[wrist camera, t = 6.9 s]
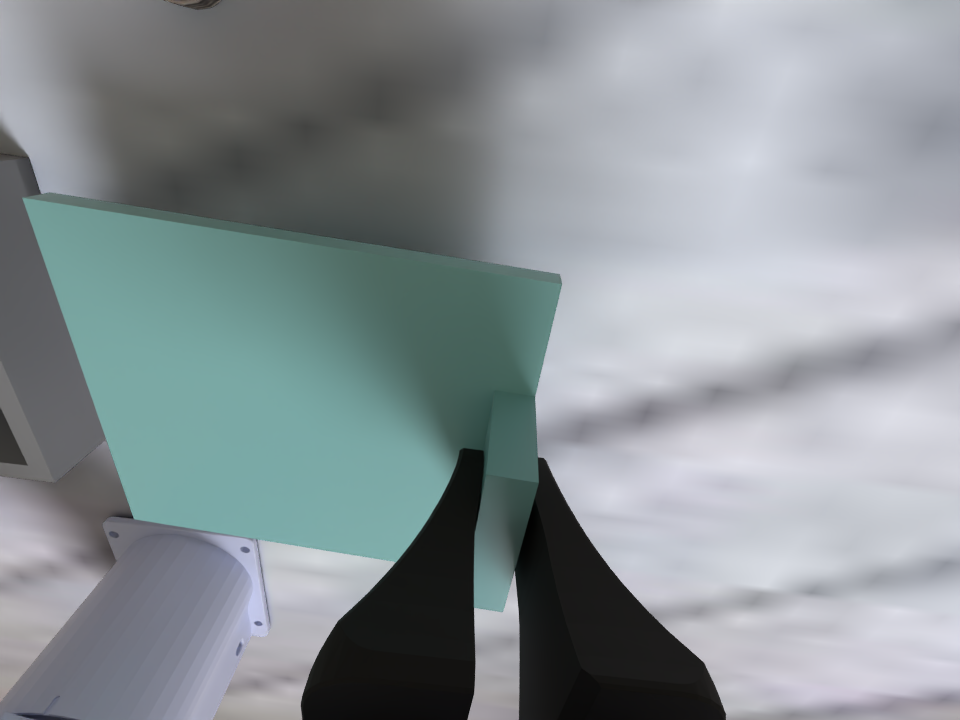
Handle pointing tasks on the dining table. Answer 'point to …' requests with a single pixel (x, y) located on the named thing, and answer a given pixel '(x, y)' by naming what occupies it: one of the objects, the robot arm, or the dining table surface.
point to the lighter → (195, 3)
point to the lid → (302, 378)
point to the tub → (36, 351)
